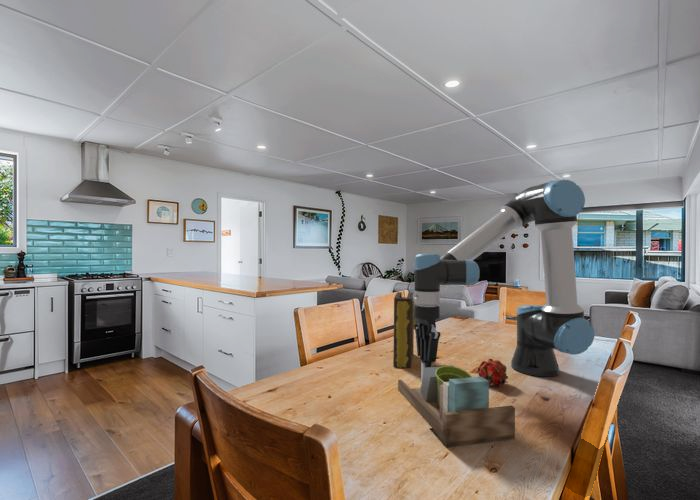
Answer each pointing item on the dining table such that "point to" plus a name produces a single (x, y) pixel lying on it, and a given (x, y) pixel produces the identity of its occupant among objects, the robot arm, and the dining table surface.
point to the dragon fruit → (493, 372)
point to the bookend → (429, 384)
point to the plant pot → (449, 376)
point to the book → (403, 330)
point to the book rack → (463, 412)
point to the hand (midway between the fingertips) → (426, 382)
